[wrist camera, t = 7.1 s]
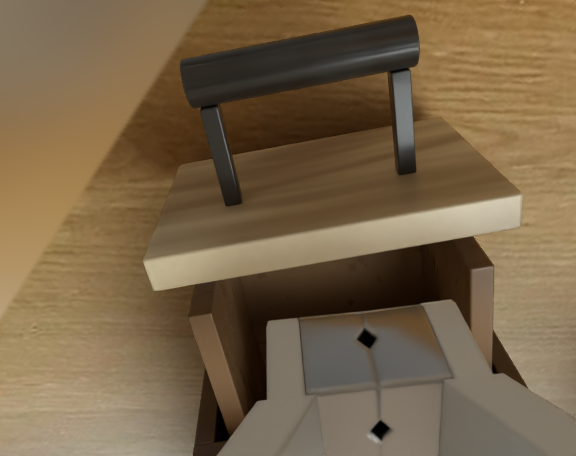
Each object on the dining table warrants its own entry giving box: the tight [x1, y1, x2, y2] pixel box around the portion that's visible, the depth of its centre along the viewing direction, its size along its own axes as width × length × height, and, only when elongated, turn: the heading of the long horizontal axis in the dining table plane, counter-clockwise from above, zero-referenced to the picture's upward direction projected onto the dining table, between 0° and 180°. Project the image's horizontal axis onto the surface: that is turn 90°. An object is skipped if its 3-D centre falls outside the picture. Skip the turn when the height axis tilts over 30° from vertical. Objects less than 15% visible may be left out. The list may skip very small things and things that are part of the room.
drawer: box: [143, 15, 522, 437], centre depth 20 cm, size 18×11×8 cm, turn 10°
